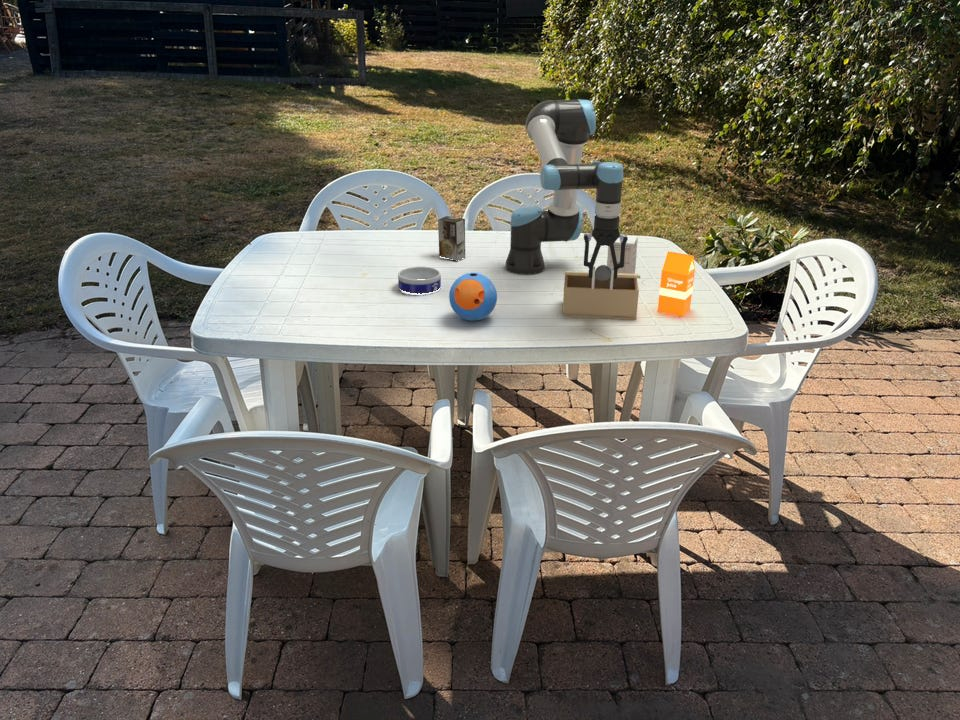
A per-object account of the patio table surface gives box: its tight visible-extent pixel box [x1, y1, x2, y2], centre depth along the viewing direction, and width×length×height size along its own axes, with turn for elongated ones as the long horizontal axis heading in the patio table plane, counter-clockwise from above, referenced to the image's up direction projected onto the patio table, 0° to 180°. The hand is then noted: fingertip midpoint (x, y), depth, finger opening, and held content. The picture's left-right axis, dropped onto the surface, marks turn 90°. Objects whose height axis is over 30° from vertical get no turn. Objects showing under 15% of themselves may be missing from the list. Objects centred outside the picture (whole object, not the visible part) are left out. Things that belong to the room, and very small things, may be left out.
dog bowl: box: [397, 266, 442, 294], centre depth 278 cm, size 15×15×6 cm
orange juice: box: [657, 250, 696, 317], centre depth 256 cm, size 8×9×20 cm
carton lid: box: [564, 264, 641, 281], centre depth 250 cm, size 24×24×5 cm
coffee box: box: [437, 215, 466, 262], centre depth 307 cm, size 9×6×16 cm
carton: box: [562, 274, 640, 321], centre depth 258 cm, size 24×14×10 cm, turn 83°
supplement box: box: [606, 235, 639, 274], centre depth 281 cm, size 10×9×17 cm
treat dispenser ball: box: [448, 272, 498, 322], centre depth 250 cm, size 16×15×15 cm
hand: (601, 287), depth 244 cm, fingers closed on carton lid, 5 cm apart
